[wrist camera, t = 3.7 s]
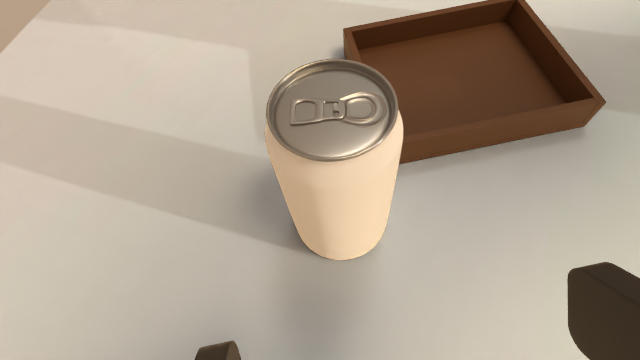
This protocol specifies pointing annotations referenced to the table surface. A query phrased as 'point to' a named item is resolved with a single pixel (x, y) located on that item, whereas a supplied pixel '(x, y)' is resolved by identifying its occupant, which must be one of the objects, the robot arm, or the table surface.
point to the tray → (474, 76)
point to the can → (336, 153)
